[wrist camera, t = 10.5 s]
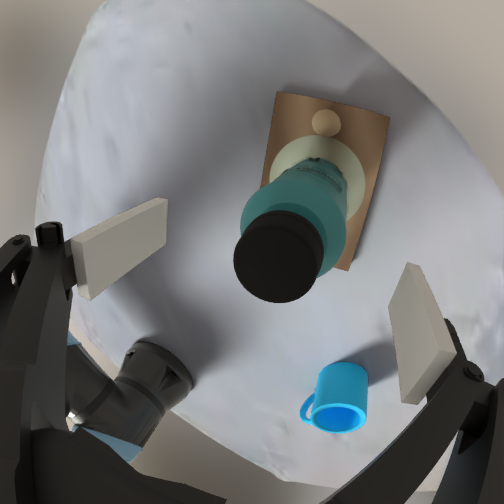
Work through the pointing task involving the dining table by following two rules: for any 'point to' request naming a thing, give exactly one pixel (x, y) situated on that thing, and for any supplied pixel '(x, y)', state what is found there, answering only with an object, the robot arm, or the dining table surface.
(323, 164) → the beverage bottle
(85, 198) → the dining table surface
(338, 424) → the mug
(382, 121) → the wooden board with pegs
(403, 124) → the dining table surface
